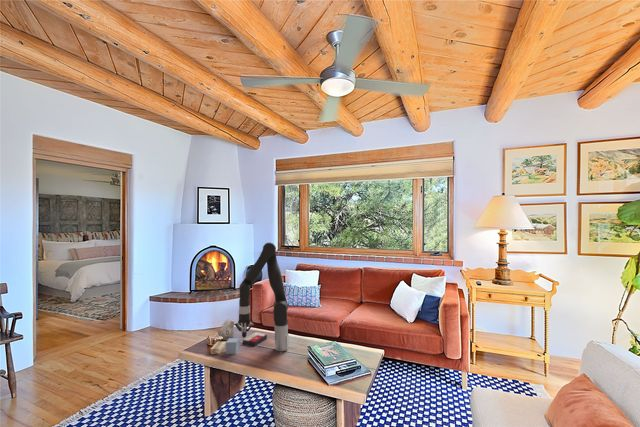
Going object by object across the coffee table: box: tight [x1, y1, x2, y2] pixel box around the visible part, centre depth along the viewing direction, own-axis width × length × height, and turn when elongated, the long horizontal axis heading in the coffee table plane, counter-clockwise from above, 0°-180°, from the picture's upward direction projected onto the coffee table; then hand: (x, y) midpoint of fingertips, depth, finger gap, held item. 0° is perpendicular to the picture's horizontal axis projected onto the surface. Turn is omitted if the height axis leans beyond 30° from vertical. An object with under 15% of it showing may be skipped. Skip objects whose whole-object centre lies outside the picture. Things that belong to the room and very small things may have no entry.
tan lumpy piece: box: [210, 341, 227, 355], centre depth 209 cm, size 6×12×4 cm, turn 177°
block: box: [225, 337, 240, 355], centre depth 206 cm, size 7×7×8 cm
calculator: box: [242, 332, 268, 347], centre depth 223 cm, size 11×4×15 cm
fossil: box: [217, 319, 235, 341], centre depth 230 cm, size 16×9×15 cm, turn 156°
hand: (244, 337), depth 206 cm, fingers closed
